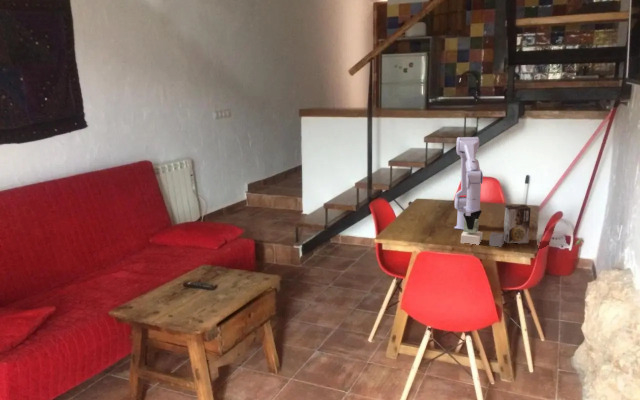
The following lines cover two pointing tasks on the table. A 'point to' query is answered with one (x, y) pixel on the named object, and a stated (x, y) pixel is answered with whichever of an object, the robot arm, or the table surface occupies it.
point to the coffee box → (517, 224)
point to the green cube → (475, 228)
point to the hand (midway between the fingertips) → (472, 227)
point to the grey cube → (496, 239)
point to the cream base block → (471, 237)
